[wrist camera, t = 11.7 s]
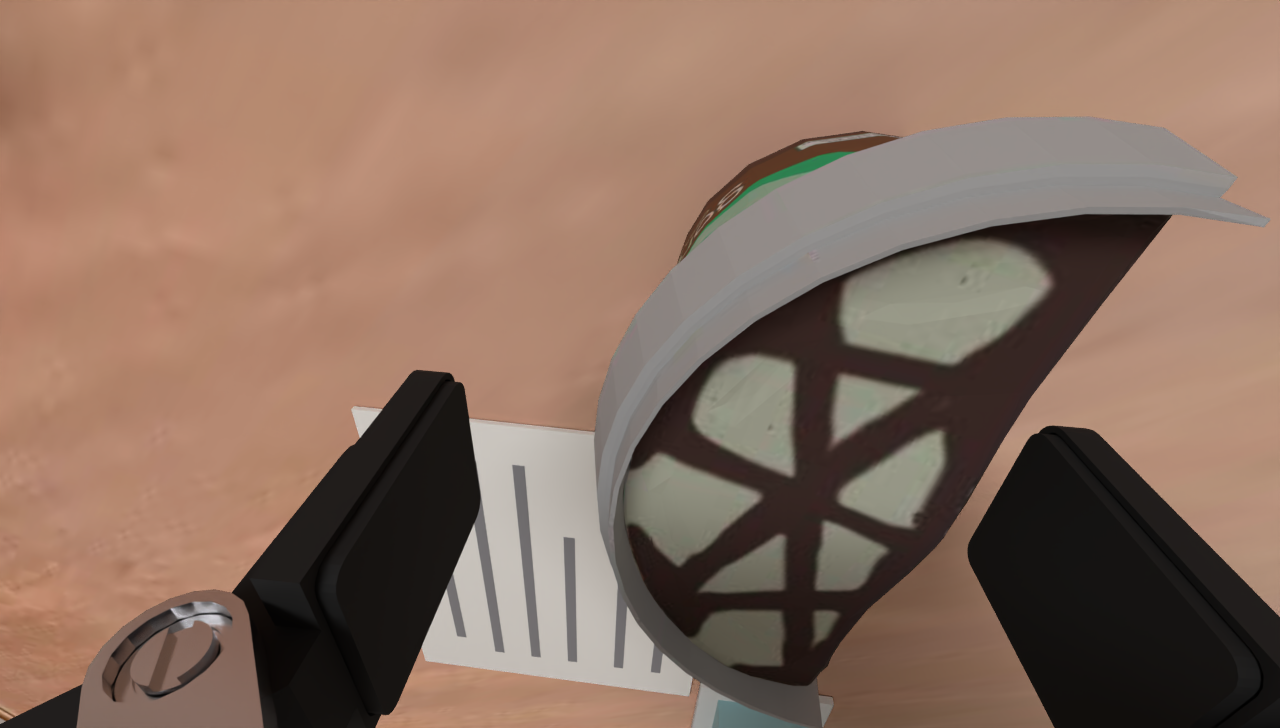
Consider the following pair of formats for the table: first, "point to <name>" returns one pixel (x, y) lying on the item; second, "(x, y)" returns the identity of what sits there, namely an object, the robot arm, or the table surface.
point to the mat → (710, 698)
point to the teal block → (745, 717)
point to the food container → (855, 372)
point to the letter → (540, 570)
